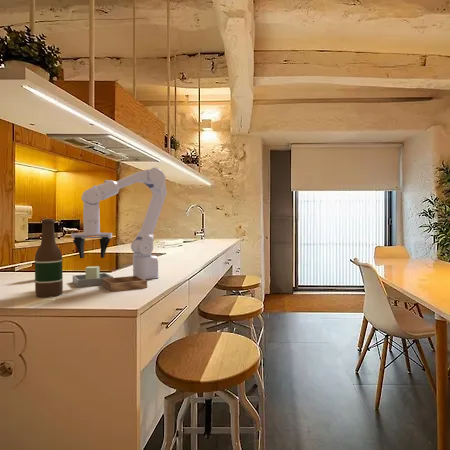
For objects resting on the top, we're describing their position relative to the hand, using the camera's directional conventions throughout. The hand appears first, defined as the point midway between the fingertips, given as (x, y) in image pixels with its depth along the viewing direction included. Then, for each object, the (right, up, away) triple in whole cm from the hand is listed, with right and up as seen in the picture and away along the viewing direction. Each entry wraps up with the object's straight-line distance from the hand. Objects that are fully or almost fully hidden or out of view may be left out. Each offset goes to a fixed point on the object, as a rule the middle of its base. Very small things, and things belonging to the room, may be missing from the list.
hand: (92, 257), depth 137 cm
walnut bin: (+14, -9, -8) cm, 19 cm away
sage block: (0, -9, 0) cm, 9 cm away
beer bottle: (-6, -10, -21) cm, 24 cm away
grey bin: (0, -9, 0) cm, 9 cm away
